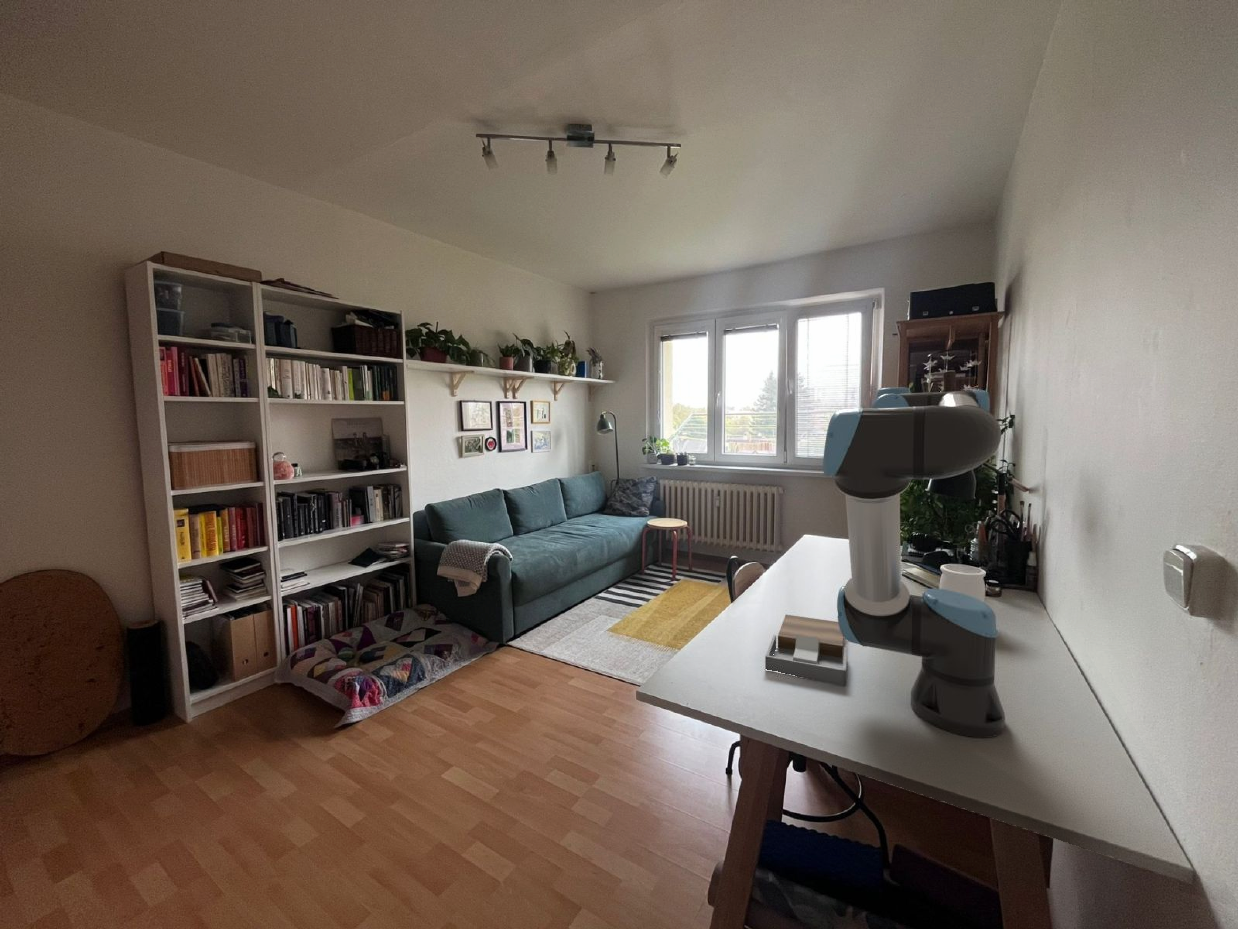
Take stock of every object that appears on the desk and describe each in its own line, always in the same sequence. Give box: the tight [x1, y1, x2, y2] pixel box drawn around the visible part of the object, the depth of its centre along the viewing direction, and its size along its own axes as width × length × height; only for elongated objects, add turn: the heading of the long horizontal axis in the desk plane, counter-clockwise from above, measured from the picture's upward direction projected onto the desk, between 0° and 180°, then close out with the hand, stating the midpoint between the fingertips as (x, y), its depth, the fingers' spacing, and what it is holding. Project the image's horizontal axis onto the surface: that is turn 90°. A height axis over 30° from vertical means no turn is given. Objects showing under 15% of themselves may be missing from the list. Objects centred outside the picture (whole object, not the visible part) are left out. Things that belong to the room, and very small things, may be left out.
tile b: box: [795, 634, 820, 659], centre depth 118 cm, size 5×5×4 cm
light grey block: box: [793, 648, 818, 664], centre depth 113 cm, size 5×5×4 cm
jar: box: [939, 563, 987, 603], centre depth 138 cm, size 11×10×15 cm
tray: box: [764, 634, 848, 687], centre depth 115 cm, size 12×17×4 cm
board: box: [777, 614, 845, 658], centre depth 128 cm, size 15×15×4 cm
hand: (890, 542), depth 124 cm, fingers closed
